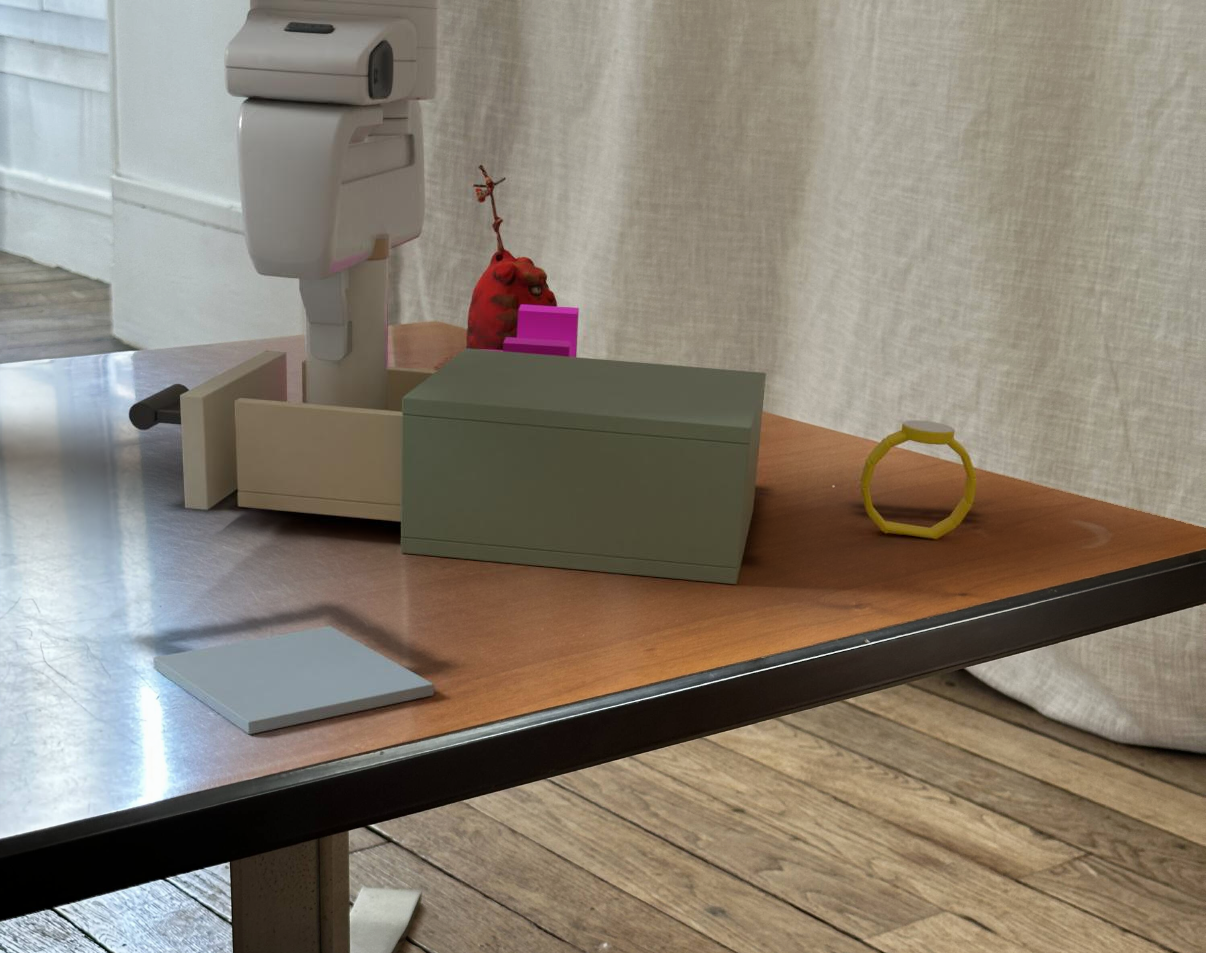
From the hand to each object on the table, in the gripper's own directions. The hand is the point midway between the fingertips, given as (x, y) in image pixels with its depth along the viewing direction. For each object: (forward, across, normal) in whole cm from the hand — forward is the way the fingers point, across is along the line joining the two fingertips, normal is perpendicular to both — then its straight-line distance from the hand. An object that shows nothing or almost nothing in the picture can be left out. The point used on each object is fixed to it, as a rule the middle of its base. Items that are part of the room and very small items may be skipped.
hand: (346, 349), depth 88 cm
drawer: (+7, 0, -1) cm, 7 cm away
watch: (+8, -5, +30) cm, 32 cm away
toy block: (+8, -18, +6) cm, 21 cm away
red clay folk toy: (+8, -37, +2) cm, 38 cm away
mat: (+8, +26, +5) cm, 28 cm away
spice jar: (+6, 0, 0) cm, 6 cm away
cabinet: (+8, 0, +13) cm, 15 cm away
